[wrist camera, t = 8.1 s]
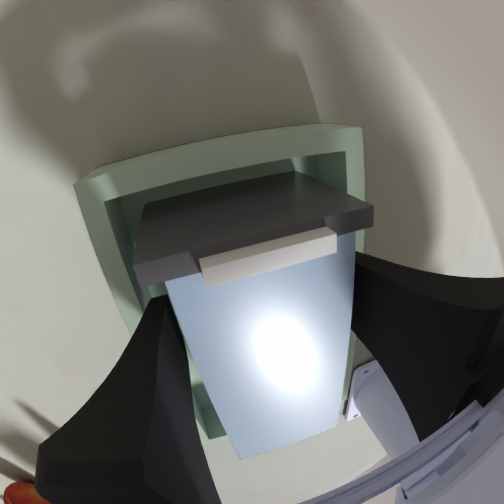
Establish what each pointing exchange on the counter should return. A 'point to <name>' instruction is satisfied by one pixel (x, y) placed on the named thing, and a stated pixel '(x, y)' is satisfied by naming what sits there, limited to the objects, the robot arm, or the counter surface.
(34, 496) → the fruit
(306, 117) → the counter surface
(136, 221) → the tray
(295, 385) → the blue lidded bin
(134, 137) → the counter surface
